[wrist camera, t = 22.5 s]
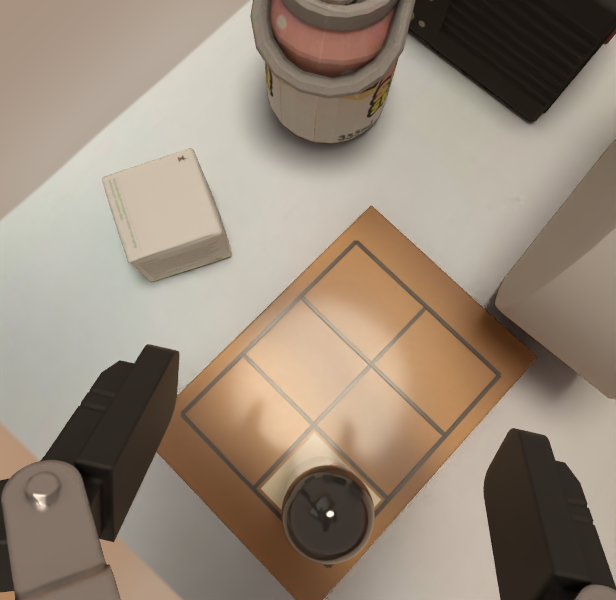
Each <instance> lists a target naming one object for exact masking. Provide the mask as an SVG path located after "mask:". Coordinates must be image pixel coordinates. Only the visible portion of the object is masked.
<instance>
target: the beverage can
mask: <svg viewBox="0 0 616 600" xmlns="http://www.w3.org/2000/svg"><path fill="white" fill-rule="evenodd" d="M414 4H415V0H253V4H252V10H251V22H252V28H253V33H254V39H255V44H256V49H257V50H258V52H259V53H260V55H261V56H262V58H263V60H264V61H265V70H266V83H267V93H268V97H269V100H270V104H271V108H272V110H273V111H274V113H275V114H276V116H277V117H278V119H279V120H280V122H281V123H282V124H283V125H284V126H285V127H287V128H288V129H289V130H290V131H292V132H293V133H294V134H295V135H297V136H299V137H302V138H304V139H307V140H310V141H312V142H318V143H331V144H333V143H337V142H342V141H347V140H351V139H352V138H354V137H356V136H358V135H359V134H361V133H363V132H365V131H366V130H368V128H369V127H370V126H371V125H372V124H373V123H374V122H375V121H376V120H377V118H378V117H379V116H380V113H381V111H382V109H383V106H384V104H385V101H386V98H387V95H388V92H389V88H390V85H391V81H392V78H393V75H394V71H395V68H396V65H397V61H398V58H399V56H400V54H401V53H402V51H403V48H404V44H405V40H406V36H407V32H408V28H409V24H410V20H411V16H412V12H413V8H414Z"/></svg>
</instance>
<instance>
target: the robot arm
mask: <svg viewBox="0 0 616 600" xmlns="http://www.w3.org/2000/svg"><path fill="white" fill-rule="evenodd" d="M178 370H179V352H178V351H176V350H171V349H167V348H163V347H158V346H154V345H149V344H148V345H146V346H145V347H144V349H143V350H142V352H141V354H140V355H139V357H138V358H137V360H136V362H135V363H134V364H133V363H129V362H125V361H118V362H117V363H115V364H114V365H112V366H111V367H109V368H108V369H106V370H105V371H103V372H102V373H101V374H100V376H99V377H98V378H97V380H96V381H95V383H94V384H93V386H92V387H91V389H90V392H88V393H87V395H86V396H85V398H84V399H83V400H82V402H81V405H80V406H78V408H77V409H76V411H75V412H74V414H73V415H72V417H71V418H70V419H69V421H68V422H67V424H66V425H65V427H64V428H63V430H62V431H61V433H60V434H59V436H58V437H57V439H56V440H55V441H54V443H53V444H52V446H51V447H50V449H49V450H48V452H47V453H46V455H45V456H44V457H43V458H42V460H41V461H39V462H36V463H33V464H30V465H28V466H26V467H24V468H22V469H21V470H19V471H18V472H16V473H15V474H14V475H13V476H12V477H11V478H10V479H6V480H1V481H0V592H7V591H15V600H121V599H120V596H119V592H118V588H117V585H116V581H115V578H114V575H113V572H112V569H111V567H110V565H107V564H106V562H105V559H104V555H103V552H102V548H101V544H100V541H99V539H103V540H107V541H112V542H114V541H115V539H116V536H117V534H118V532H119V530H120V528H121V526H122V524H123V522H124V519H125V517H126V515H127V513H128V511H129V509H130V507H131V504H132V502H133V500H134V498H135V496H136V494H137V492H138V490H139V487H140V485H141V483H142V481H143V479H144V477H145V475H146V472H147V470H148V468H149V466H150V464H151V462H152V460H153V458H154V455H155V453H156V451H157V449H158V447H159V445H160V443H161V440H162V438H163V436H164V434H165V432H166V430H167V428H168V426H169V423H170V421H171V418H172V416H173V412H174V409H175V404H176V398H177V385H178ZM484 500H485V506H486V512H487V518H488V525H489V531H490V537H491V543H492V549H493V556H494V562H495V568H496V574H497V581H498V587H499V593H500V599H501V600H616V586H615V583H614V580H613V577H612V574H611V571H610V568H609V566H608V563H607V560H606V557H605V554H604V551H603V548H602V545H601V542H600V539H599V536H598V533H597V531H596V528H595V525H593V519H592V516H591V513H590V510H589V508H587V501H586V499H585V496H584V493H583V490H582V487H581V484H580V482H579V481H578V479H577V478H576V477H575V475H574V474H573V473H572V471H571V470H570V469H569V467H568V466H567V465H566V463H564V462H559V461H555V458H554V455H553V452H552V449H551V445H550V442H549V440H548V438H547V437H546V436H545V435H541V434H537V433H532V432H528V431H523V430H519V429H515V428H513V429H511V430H510V431H509V432H508V433H507V435H506V437H505V439H504V441H503V442H502V444H501V446H500V448H499V450H498V451H497V453H496V455H495V457H494V459H493V461H492V462H491V464H490V466H489V468H488V470H487V473H486V476H485V481H484Z"/></svg>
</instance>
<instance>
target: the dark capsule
mask: <svg viewBox="0 0 616 600" xmlns="http://www.w3.org/2000/svg"><path fill="white" fill-rule="evenodd" d="M281 518H282V525H283V529H284V532H285V535H286V537H287V539H288V541H289V542H290V544H291V545H292V547H293V548H294V549H295V550H296V551H297V552H298V553H299V554H301V555H302V556H303V557H305V558H306V559H308V560H310V561H313V562H316V563H319V564H327V565H332V564H338V563H342V562H345V561H347V560H349V559H351V558H352V557H354V556H355V555H357V554H358V553H359V552H360V551H361V550H362V549H363V548H364V546H365V545H366V543H367V542H368V540H369V538H370V536H371V533H372V530H373V526H374V519H375V511H374V504H373V500H372V497H371V495H370V492H369V490H368V489H367V487H366V485H365V484H364V483H363V481H362V480H361V479H360V478H359V477H358V476H357V475H356V474H354V473H353V472H352V471H351V470H350V469H349V468H348V467H347V466H346V465H344V464H343V463H342V462H340V461H338V460H336V459H334V458H330V457H322V456H319V457H313V458H309V459H307V460H305V461H303V462H301V463H300V464H299V465H297V466H296V467H295V468H294V469H293V471H292V472H291V473H290V475H289V477H288V478H287V481H286V483H285V487H284V493H283V501H282V511H281Z"/></svg>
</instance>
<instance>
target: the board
mask: <svg viewBox="0 0 616 600" xmlns="http://www.w3.org/2000/svg"><path fill="white" fill-rule="evenodd" d="M536 359H537V357H536V356H535V355H534V354H533V353H532V352H531V351H530V350H529V349H528V348H527V347H526V346H524V345H523V344H522V343H521V342H520V341H519V340H518V339H517V338H516V337H515V336H514V335H512V334H511V333H510V332H509V331H508V330H507V329H506V328H505V327H504V326H503V325H502V324H500V323H499V322H498V321H497V320H496V319H495V318H494V317H493V316H492V315H491V314H490V313H488V312H487V311H486V310H485V309H484V308H483V307H482V306H481V305H480V304H479V303H477V302H476V301H475V300H474V299H473V298H472V297H471V296H470V295H469V294H468V293H467V292H465V291H464V290H463V289H462V288H461V287H460V286H459V285H458V284H457V283H456V282H455V281H453V280H452V279H451V278H450V277H449V276H448V275H447V274H446V273H445V272H444V271H443V270H441V269H440V268H439V267H438V266H437V265H436V264H435V263H434V262H433V261H432V260H431V259H429V258H428V257H427V256H426V255H425V254H424V253H423V252H422V251H421V250H420V249H419V248H417V247H416V246H415V245H414V244H413V243H412V242H411V241H410V240H409V239H408V238H407V237H405V236H404V235H403V234H402V233H401V232H400V231H399V230H398V229H397V228H396V227H395V226H393V225H392V224H391V223H390V222H389V221H388V220H387V219H386V218H385V217H384V216H383V215H381V214H380V213H379V212H378V211H377V210H376V209H375V208H374V207H373V206H370V207H369V208H368V209H367V210H366V211H365V212H364V213H363V214H362V215H361V216H360V217H359V218H358V219H357V220H356V221H355V222H354V223H353V224H352V225H351V226H350V227H349V228H348V229H347V230H346V231H345V232H344V233H342V234H341V235H340V236H339V237H338V238H337V239H336V240H335V241H334V242H333V243H332V244H331V245H330V246H329V247H328V248H327V249H326V250H325V251H324V252H323V253H322V254H321V255H320V256H319V257H318V258H317V259H316V260H315V261H314V262H313V263H312V264H311V265H310V266H309V267H308V268H307V269H306V270H305V271H304V272H303V273H302V274H301V275H300V276H299V277H298V278H297V279H296V280H295V281H294V282H293V283H292V284H291V285H290V286H289V287H287V288H286V289H285V290H284V291H283V292H282V293H281V294H280V295H279V296H278V297H277V298H276V299H275V300H274V301H273V302H272V303H271V304H270V305H269V306H268V307H267V308H266V309H265V310H264V311H263V312H262V313H261V314H260V315H259V316H258V317H257V318H256V319H255V320H254V321H253V322H252V323H251V324H250V325H249V326H248V327H247V328H246V329H245V330H244V331H243V332H242V333H241V334H240V335H239V336H238V337H237V338H236V339H235V340H234V341H232V342H231V343H230V344H229V345H228V346H227V347H226V348H225V349H224V350H223V351H222V352H221V353H220V354H219V355H218V356H217V357H216V358H215V359H214V360H213V361H212V362H211V363H210V364H209V365H208V366H207V367H206V368H205V369H204V370H203V371H202V372H201V373H200V374H199V375H198V376H197V377H196V378H195V379H194V380H193V381H192V382H191V383H190V384H189V385H188V386H187V387H186V388H185V389H184V390H183V391H182V392H181V393H180V394H179V395H178V396H177V398H176V404H175V409H174V412H173V416H172V418H171V421H170V423H169V426H168V428H167V430H166V432H165V434H164V436H163V438H162V440H161V443H160V445H159V447H158V449H157V451H156V452H157V453H158V454H159V455H160V456H161V457H162V458H163V459H164V460H165V461H166V462H167V463H168V464H169V466H170V467H171V468H172V469H173V470H174V471H175V472H176V473H177V474H178V475H179V476H180V477H181V478H182V479H183V480H184V481H185V482H186V484H187V485H188V486H189V487H190V488H191V489H192V490H193V491H194V492H195V493H196V494H197V495H198V496H199V497H200V498H201V499H202V501H203V502H204V503H205V504H206V505H207V506H208V507H209V508H210V509H211V510H212V511H213V512H214V513H215V514H216V515H217V516H218V517H219V519H220V520H221V521H222V522H223V523H224V524H225V525H226V526H227V527H228V528H229V529H230V530H231V531H232V532H233V533H234V534H235V536H236V537H237V538H238V539H239V540H240V541H241V542H242V543H243V544H244V545H245V546H246V547H247V548H248V549H249V550H250V551H251V552H252V554H253V555H254V556H255V557H256V558H257V559H258V560H259V561H260V562H261V563H262V564H263V565H264V566H265V567H266V568H267V569H268V570H269V572H270V573H271V574H272V575H273V576H274V577H275V578H276V579H277V580H278V581H279V582H280V583H281V584H282V585H283V586H284V587H285V589H286V590H287V591H288V592H289V593H290V594H291V595H292V596H293V597H294V598H295V599H296V600H323V599H324V598H325V597H326V596H327V595H328V594H329V592H330V591H331V590H332V589H333V588H334V587H335V586H336V584H337V583H338V582H339V581H340V580H341V579H342V578H343V577H344V575H345V574H346V573H347V572H348V571H349V570H350V569H351V568H352V566H353V565H354V564H355V563H356V562H357V561H358V560H359V558H360V557H361V556H362V555H363V554H364V553H365V552H366V551H367V549H368V548H369V547H370V546H371V545H372V544H373V543H374V542H375V540H376V539H377V538H378V537H379V536H380V535H381V534H382V532H383V531H384V530H385V529H386V528H387V527H388V526H389V525H390V523H391V522H392V521H393V520H394V519H395V518H396V517H397V516H398V514H399V513H400V512H401V511H402V510H403V509H404V508H405V507H406V505H407V504H408V503H409V502H410V501H411V500H412V499H413V497H414V496H415V495H416V494H417V493H418V492H419V491H420V490H421V488H422V487H423V486H424V485H425V484H426V483H427V482H428V481H429V479H430V478H431V477H432V476H433V475H434V474H435V473H436V471H437V470H438V469H439V468H440V467H441V466H442V465H443V464H444V462H445V461H446V460H447V459H448V458H449V457H450V456H451V455H452V453H453V452H454V451H455V450H456V449H457V448H458V447H459V446H460V444H461V443H462V442H463V441H464V440H465V439H466V438H467V436H468V435H469V434H470V433H471V432H472V431H473V430H474V429H475V427H476V426H477V425H478V424H479V423H480V422H481V421H482V420H483V418H484V417H485V416H486V415H487V414H488V413H489V412H490V410H491V409H492V408H493V407H494V406H495V405H496V404H497V403H498V401H499V400H500V399H501V398H502V397H503V396H504V395H505V394H506V392H507V391H508V390H509V389H510V388H511V387H512V386H513V384H514V383H515V382H516V381H517V380H518V379H519V378H520V377H521V375H522V374H523V373H524V372H525V371H526V370H527V369H528V368H529V366H530V365H531V364H532V363H533V362H534V361H535V360H536ZM319 456H322V457H330V458H334V459H336V460H338V461H340V462H342V463H343V464H344V465H346V466H347V467H348V468H349V469H350V470H351V471H352V472H353V473H354V474H356V475H357V476H358V477H359V478H360V479H361V480H362V481H363V483H364V484H365V485H366V487H367V489H368V490H369V492H370V495H371V497H372V500H373V504H374V511H375V519H374V526H373V530H372V533H371V536H370V538H369V540H368V542H367V543H366V545H365V546H364V548H363V549H362V550H361V551H360V552H359V553H358V554H357V555H355V556H354V557H352V558H351V559H349V560H347V561H345V562H342V563H338V564H332V565H327V564H319V563H316V562H313V561H310V560H308V559H306V558H305V557H303V556H302V555H301V554H299V553H298V552H297V551H296V550H295V549H294V548H293V547H292V545H291V544H290V542H289V541H288V539H287V537H286V535H285V532H284V529H283V525H282V518H281V511H282V501H283V493H284V487H285V483H286V481H287V478H288V477H289V475H290V473H291V472H292V471H293V469H294V468H295V467H296V466H297V465H299V464H300V463H301V462H303V461H305V460H307V459H309V458H313V457H319Z"/></svg>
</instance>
